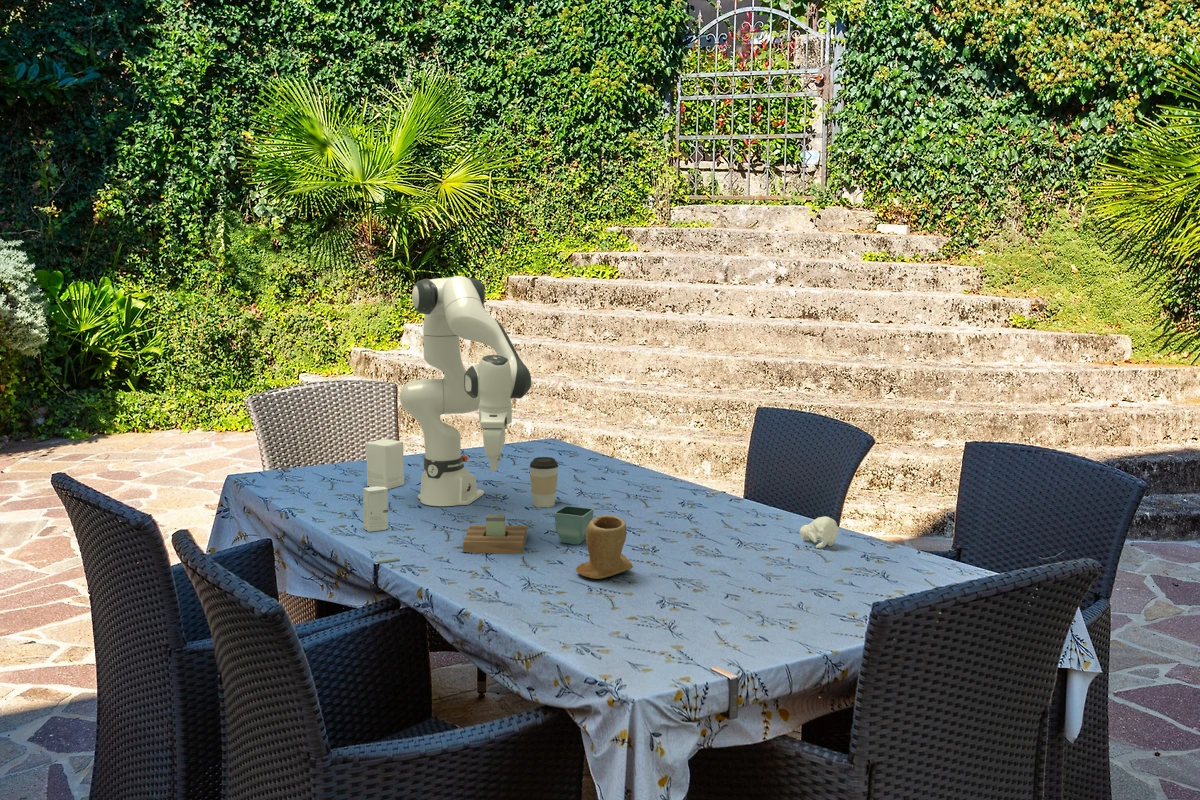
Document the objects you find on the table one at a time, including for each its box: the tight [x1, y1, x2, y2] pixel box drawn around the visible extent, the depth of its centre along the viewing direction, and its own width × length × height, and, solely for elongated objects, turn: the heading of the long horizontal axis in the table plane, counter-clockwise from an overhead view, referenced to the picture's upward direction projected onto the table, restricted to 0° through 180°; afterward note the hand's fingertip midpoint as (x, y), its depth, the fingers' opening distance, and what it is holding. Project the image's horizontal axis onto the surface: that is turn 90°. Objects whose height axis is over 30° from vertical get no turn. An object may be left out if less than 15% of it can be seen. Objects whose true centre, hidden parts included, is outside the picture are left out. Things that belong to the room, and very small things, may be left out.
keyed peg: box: [485, 513, 506, 536], centre depth 299 cm, size 4×5×8 cm
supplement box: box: [365, 438, 405, 490], centre depth 362 cm, size 9×9×15 cm
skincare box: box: [362, 486, 389, 533], centre depth 312 cm, size 6×4×12 cm
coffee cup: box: [529, 456, 559, 508], centre depth 340 cm, size 9×9×15 cm
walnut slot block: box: [462, 524, 528, 554], centre depth 300 cm, size 16×16×3 cm
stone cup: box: [575, 514, 634, 580], centre depth 275 cm, size 15×12×15 cm
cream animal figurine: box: [799, 516, 840, 549], centre depth 303 cm, size 6×8×12 cm
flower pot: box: [554, 505, 594, 545], centre depth 302 cm, size 9×9×9 cm
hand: (495, 466), depth 296 cm, fingers open, 8 cm apart
